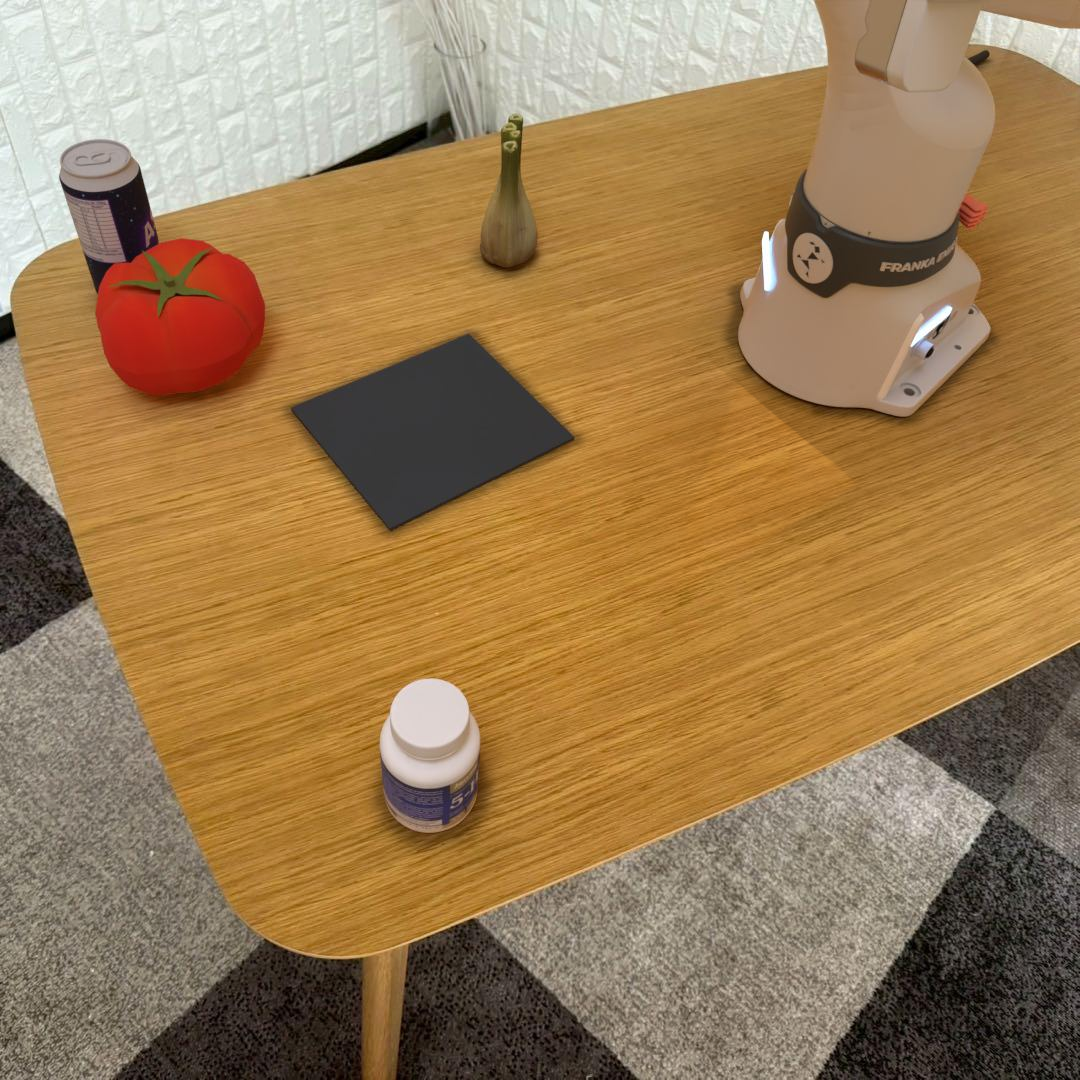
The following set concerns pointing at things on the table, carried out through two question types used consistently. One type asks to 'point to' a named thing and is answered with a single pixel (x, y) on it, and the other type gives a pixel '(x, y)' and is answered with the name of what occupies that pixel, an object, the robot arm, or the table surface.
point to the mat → (430, 429)
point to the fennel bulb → (509, 206)
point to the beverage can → (107, 204)
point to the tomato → (179, 317)
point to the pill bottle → (430, 756)
